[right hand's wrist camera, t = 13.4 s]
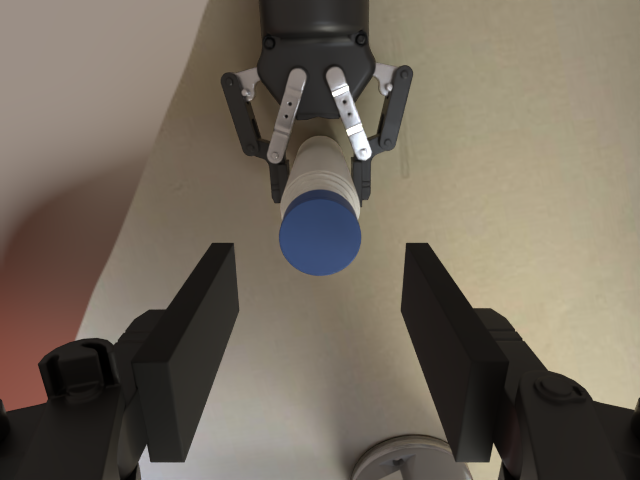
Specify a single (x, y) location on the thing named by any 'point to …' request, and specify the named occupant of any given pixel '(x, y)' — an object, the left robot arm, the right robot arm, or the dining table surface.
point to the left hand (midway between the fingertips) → (321, 205)
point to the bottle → (320, 172)
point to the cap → (320, 233)
